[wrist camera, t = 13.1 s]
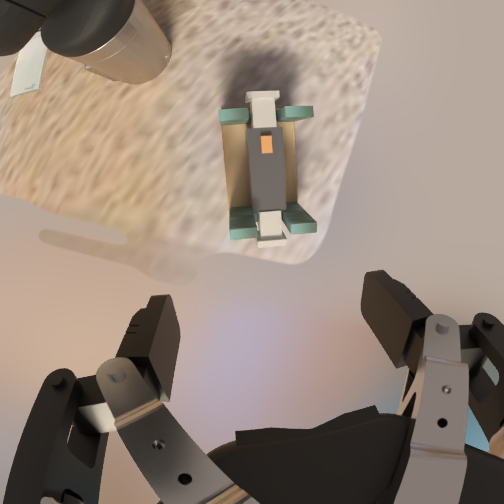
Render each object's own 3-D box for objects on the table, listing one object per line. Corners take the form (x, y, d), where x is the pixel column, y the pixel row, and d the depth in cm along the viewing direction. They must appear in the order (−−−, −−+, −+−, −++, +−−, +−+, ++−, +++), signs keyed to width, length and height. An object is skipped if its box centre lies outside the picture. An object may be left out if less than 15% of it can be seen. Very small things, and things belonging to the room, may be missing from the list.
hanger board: (230, 219, 41) (230, 247, 31) (220, 112, 35) (216, 101, 25) (296, 213, 42) (317, 239, 31) (291, 108, 35) (313, 98, 25)
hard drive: (38, 89, 28) (52, 26, 23) (8, 97, 27) (21, 38, 22) (43, 89, 29) (57, 28, 25) (14, 98, 28) (26, 39, 24)
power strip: (252, 231, 40) (256, 247, 34) (242, 99, 32) (244, 91, 26) (280, 229, 40) (288, 245, 34) (272, 98, 32) (280, 90, 27)
